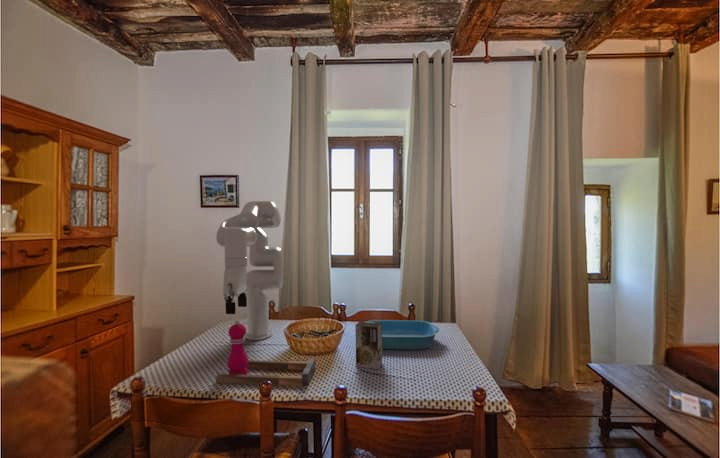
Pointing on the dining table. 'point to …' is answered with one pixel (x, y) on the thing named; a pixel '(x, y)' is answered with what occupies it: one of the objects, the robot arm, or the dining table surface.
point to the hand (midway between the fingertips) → (236, 310)
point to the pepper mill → (237, 350)
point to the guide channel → (275, 380)
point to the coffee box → (369, 344)
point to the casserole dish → (407, 334)
